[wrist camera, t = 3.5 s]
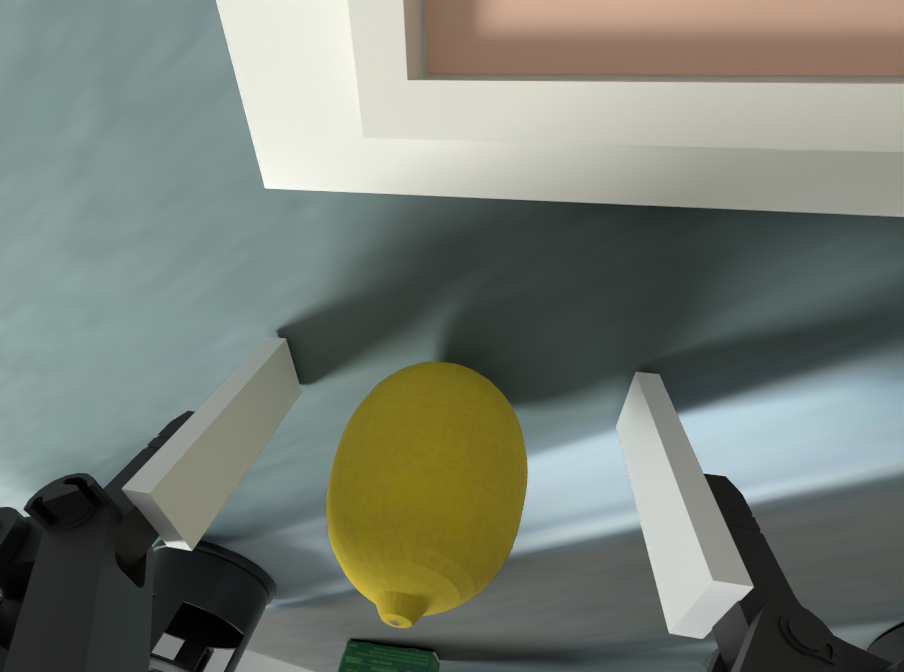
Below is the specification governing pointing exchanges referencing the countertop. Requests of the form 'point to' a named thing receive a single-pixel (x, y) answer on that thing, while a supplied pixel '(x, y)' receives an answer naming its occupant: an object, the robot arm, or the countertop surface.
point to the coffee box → (386, 659)
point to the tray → (580, 100)
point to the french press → (205, 604)
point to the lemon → (427, 490)
